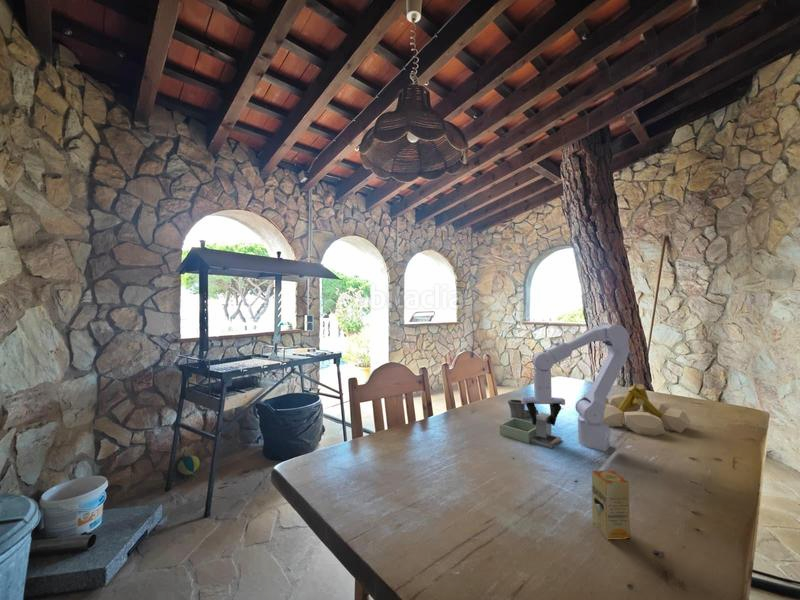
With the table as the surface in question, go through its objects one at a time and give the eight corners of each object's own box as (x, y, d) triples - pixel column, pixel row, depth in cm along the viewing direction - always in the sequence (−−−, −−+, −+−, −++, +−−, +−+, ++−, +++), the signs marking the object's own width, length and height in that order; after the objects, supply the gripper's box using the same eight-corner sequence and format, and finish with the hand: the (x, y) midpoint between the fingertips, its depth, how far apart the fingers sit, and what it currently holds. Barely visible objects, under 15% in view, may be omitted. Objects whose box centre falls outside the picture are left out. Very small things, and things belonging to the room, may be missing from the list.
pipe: (540, 421, 141) (540, 403, 141) (510, 421, 141) (510, 402, 141) (534, 416, 147) (534, 399, 147) (506, 416, 147) (505, 398, 148)
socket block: (563, 443, 118) (563, 437, 118) (552, 452, 111) (552, 445, 111) (535, 435, 126) (535, 430, 126) (523, 443, 119) (523, 437, 119)
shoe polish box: (613, 523, 75) (612, 470, 75) (629, 539, 70) (628, 482, 70) (592, 524, 75) (591, 471, 75) (607, 539, 70) (606, 482, 70)
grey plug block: (551, 434, 119) (551, 414, 119) (546, 438, 115) (545, 418, 115) (541, 431, 121) (541, 412, 121) (535, 435, 118) (535, 415, 118)
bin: (541, 436, 124) (541, 424, 125) (528, 445, 117) (528, 432, 117) (513, 429, 132) (513, 417, 133) (499, 436, 125) (499, 424, 125)
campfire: (640, 441, 120) (639, 395, 121) (569, 413, 153) (569, 376, 153) (709, 431, 130) (707, 388, 130) (628, 406, 162) (627, 371, 163)
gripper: (559, 384, 122) (560, 420, 122) (519, 383, 124) (519, 419, 123) (567, 388, 115) (567, 427, 115) (524, 388, 117) (524, 426, 116)
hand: (543, 424), depth 119 cm, fingers closed on grey plug block, 6 cm apart
